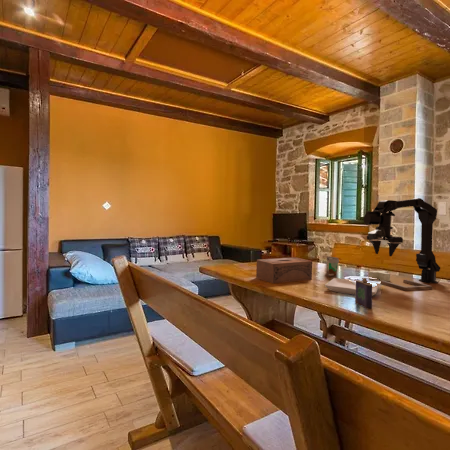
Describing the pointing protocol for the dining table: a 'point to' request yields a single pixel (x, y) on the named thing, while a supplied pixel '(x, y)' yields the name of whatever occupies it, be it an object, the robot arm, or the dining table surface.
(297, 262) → the tissue box cover
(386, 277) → the T block
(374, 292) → the salad plate
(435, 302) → the dining table surface
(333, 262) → the food container
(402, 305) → the dining table surface
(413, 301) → the dining table surface
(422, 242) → the robot arm
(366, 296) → the flask
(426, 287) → the frame
